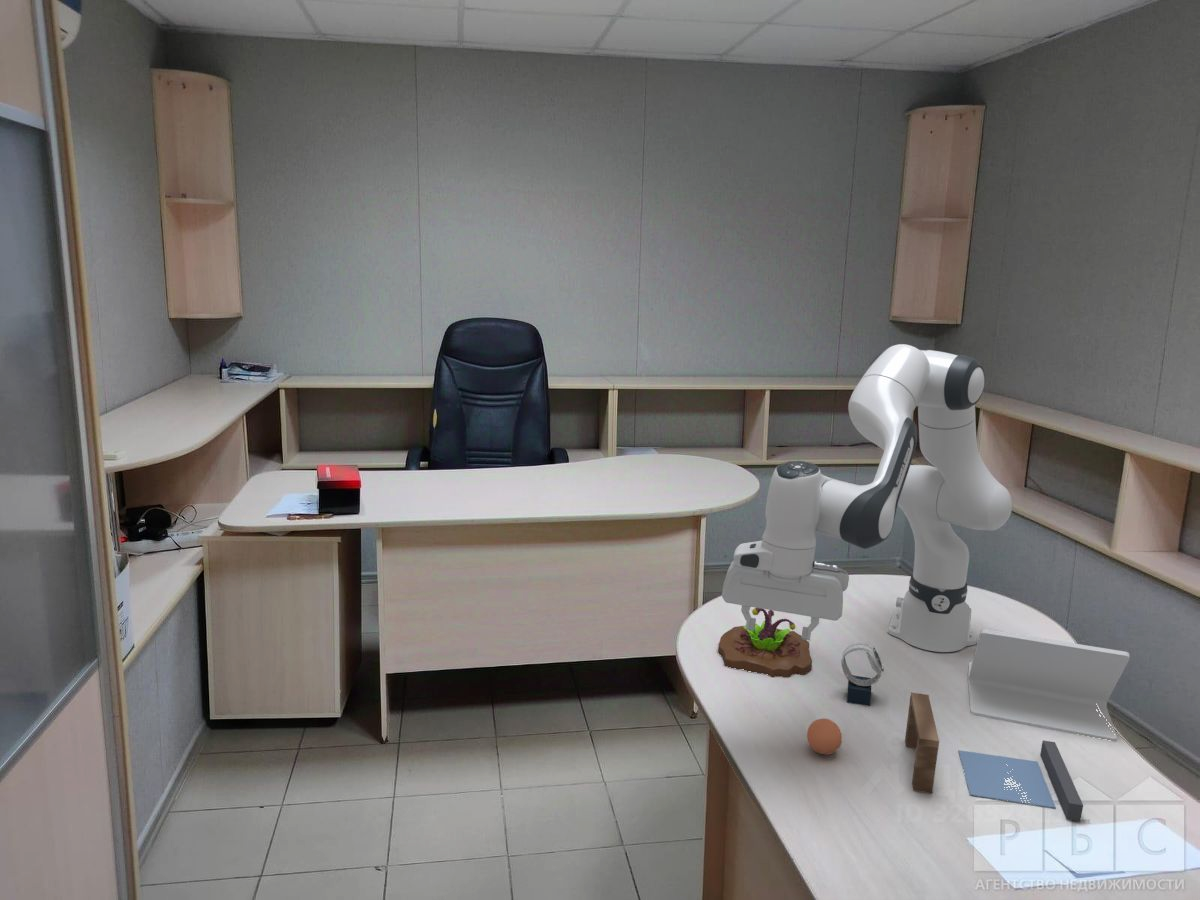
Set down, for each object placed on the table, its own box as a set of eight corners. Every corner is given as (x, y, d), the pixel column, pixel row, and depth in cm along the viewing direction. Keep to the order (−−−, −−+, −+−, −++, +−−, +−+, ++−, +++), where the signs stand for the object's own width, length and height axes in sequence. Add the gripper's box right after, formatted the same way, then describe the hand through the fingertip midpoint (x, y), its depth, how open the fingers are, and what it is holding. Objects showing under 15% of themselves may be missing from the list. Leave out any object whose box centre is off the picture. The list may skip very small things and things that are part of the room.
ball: (805, 739, 162) (808, 710, 160) (840, 744, 161) (843, 714, 159) (805, 758, 156) (808, 728, 155) (840, 763, 155) (843, 733, 154)
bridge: (913, 790, 148) (919, 738, 146) (904, 740, 162) (910, 692, 160) (932, 793, 148) (939, 741, 145) (922, 742, 162) (928, 694, 159)
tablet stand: (1117, 743, 163) (1133, 659, 159) (970, 716, 172) (982, 634, 167) (1100, 695, 180) (1114, 617, 176) (966, 672, 188) (977, 597, 184)
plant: (719, 630, 205) (722, 585, 202) (807, 639, 202) (811, 592, 199) (716, 673, 186) (719, 624, 183) (813, 683, 183) (817, 633, 180)
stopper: (1040, 755, 159) (1042, 740, 158) (1052, 757, 158) (1054, 742, 158) (1066, 819, 142) (1069, 803, 141) (1080, 821, 141) (1083, 805, 141)
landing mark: (958, 751, 160) (958, 750, 159) (1037, 762, 157) (1037, 761, 157) (969, 795, 147) (970, 794, 147) (1055, 808, 144) (1055, 807, 144)
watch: (880, 707, 173) (886, 656, 170) (837, 700, 175) (842, 649, 172) (880, 693, 178) (885, 643, 176) (838, 687, 180) (843, 637, 178)
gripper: (850, 561, 152) (840, 637, 155) (729, 543, 157) (722, 617, 160) (850, 573, 146) (839, 652, 149) (724, 554, 151) (716, 630, 154)
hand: (777, 633), depth 154 cm, fingers open, 8 cm apart
